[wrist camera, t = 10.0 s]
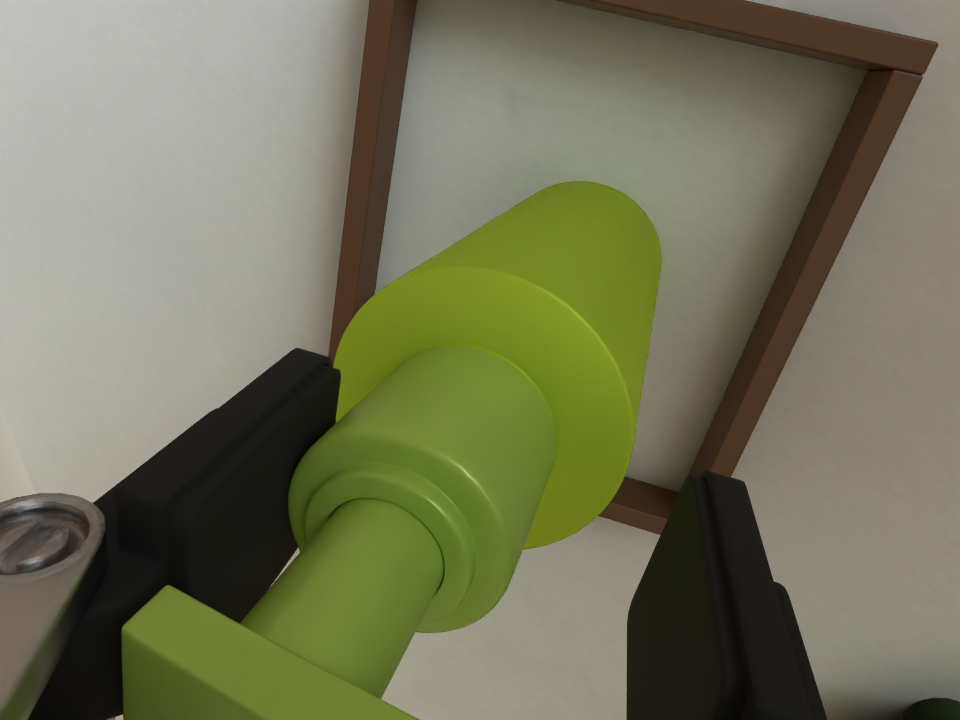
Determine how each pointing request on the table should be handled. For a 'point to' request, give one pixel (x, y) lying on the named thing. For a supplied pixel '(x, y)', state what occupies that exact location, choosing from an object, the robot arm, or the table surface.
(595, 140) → the table surface
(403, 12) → the tray
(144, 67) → the table surface
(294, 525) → the soap dispenser
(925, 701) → the toy figurine
